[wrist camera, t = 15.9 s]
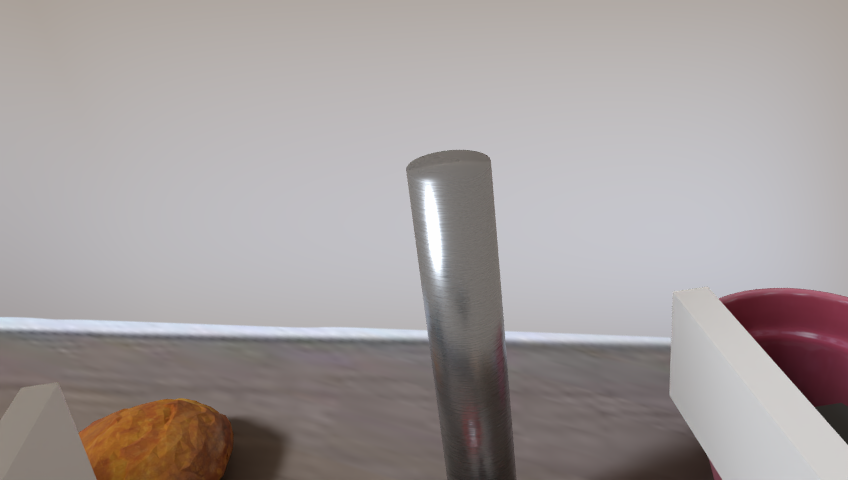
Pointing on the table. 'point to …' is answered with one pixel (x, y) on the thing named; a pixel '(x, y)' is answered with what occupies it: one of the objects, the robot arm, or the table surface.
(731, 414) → the robot arm
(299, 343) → the table surface
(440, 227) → the paper towel holder
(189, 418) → the croissant
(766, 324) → the plant pot
